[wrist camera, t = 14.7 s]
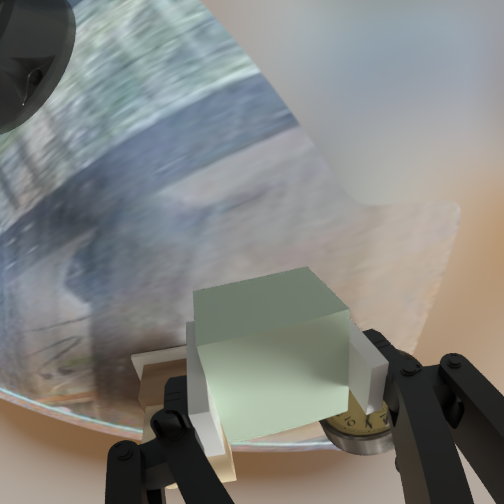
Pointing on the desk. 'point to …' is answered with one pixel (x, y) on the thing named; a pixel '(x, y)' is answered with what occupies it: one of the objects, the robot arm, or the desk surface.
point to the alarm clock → (361, 428)
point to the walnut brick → (158, 380)
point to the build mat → (157, 357)
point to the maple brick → (219, 463)
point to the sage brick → (273, 352)
